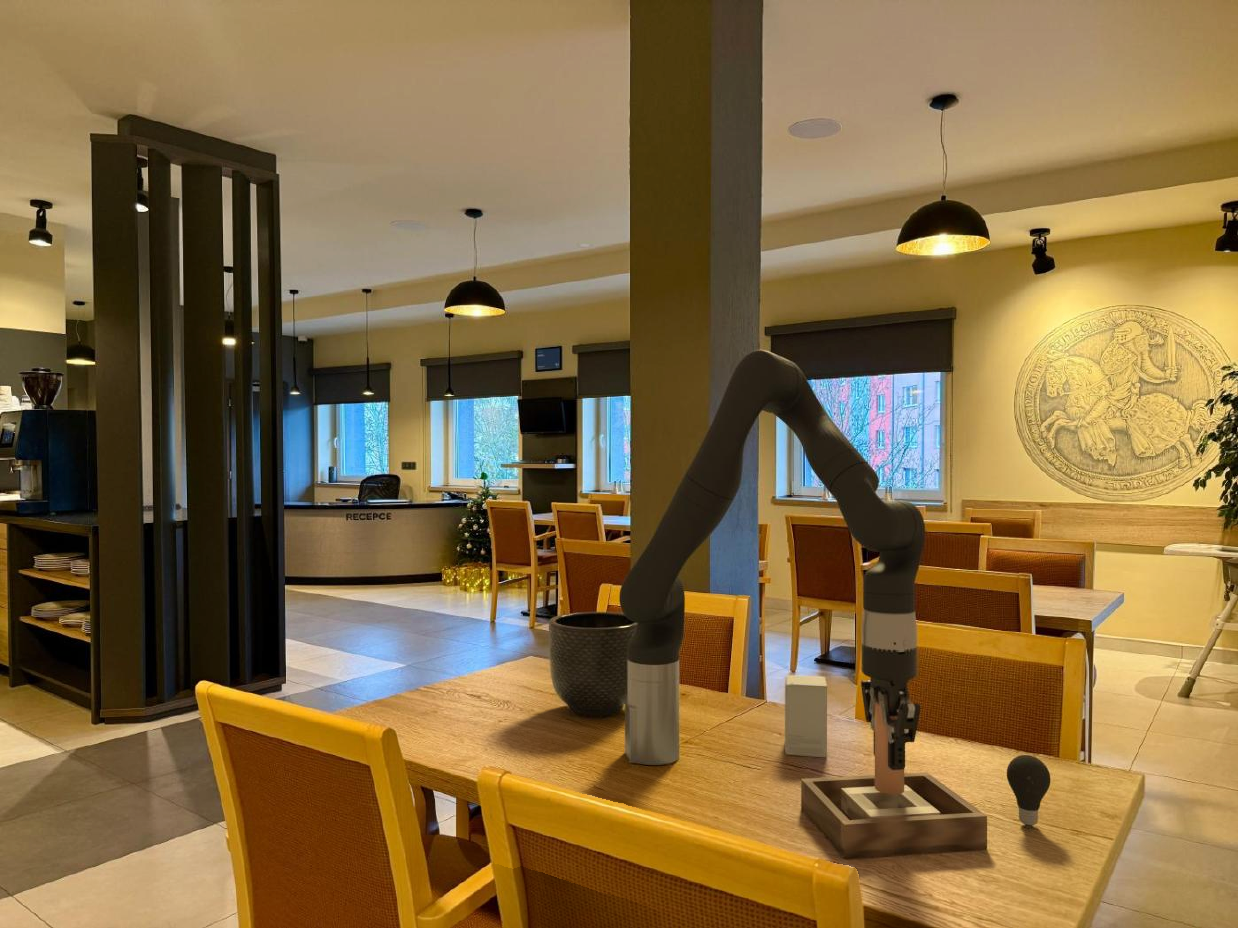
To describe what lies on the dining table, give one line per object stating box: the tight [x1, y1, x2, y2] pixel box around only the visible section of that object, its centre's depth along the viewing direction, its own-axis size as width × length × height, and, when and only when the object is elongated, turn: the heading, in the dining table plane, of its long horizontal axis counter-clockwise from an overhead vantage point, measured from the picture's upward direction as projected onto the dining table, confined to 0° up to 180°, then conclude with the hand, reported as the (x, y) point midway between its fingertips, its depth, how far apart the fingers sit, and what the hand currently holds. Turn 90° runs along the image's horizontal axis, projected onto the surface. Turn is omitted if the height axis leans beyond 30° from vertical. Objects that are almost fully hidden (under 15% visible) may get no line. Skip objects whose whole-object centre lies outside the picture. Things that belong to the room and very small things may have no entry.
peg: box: [874, 702, 905, 794], centre depth 118 cm, size 4×4×12 cm
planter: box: [548, 611, 637, 719], centre depth 175 cm, size 20×20×19 cm
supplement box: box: [784, 674, 828, 758], centre depth 151 cm, size 7×7×13 cm
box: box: [800, 772, 988, 860], centre depth 118 cm, size 20×16×4 cm
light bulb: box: [1006, 754, 1051, 828], centre depth 119 cm, size 6×6×10 cm
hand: (889, 762), depth 118 cm, fingers closed on peg, 4 cm apart
